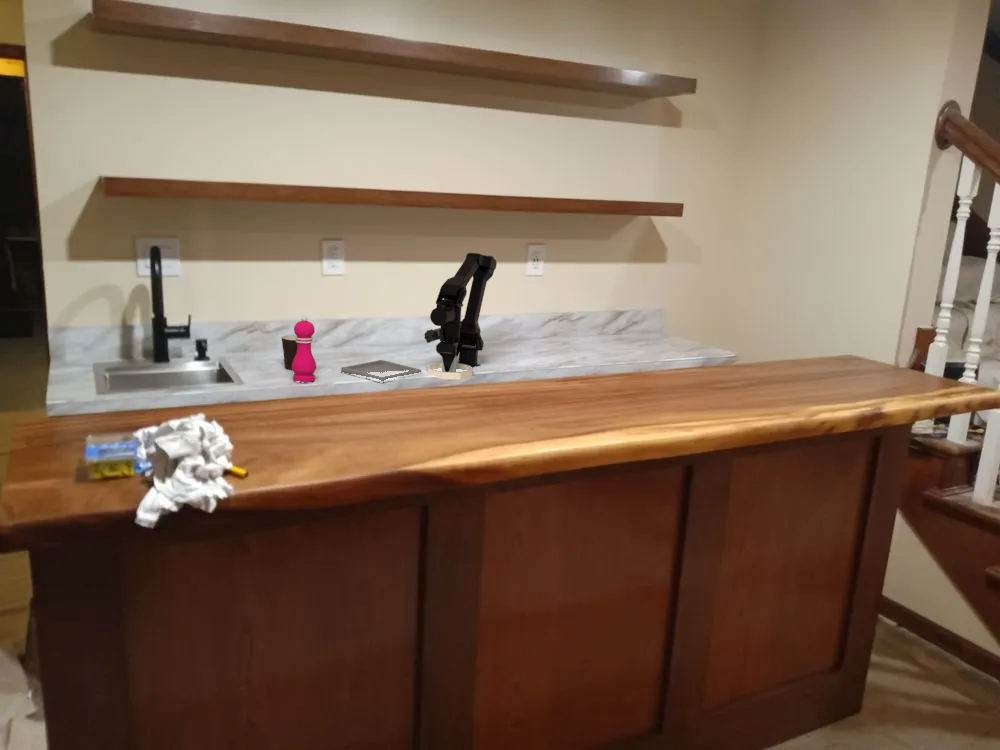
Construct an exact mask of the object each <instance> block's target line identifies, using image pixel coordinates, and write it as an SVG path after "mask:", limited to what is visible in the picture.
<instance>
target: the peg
mask: <svg viewBox="0 0 1000 750" xmlns="http://www.w3.org/2000/svg"><path fill="white" fill-rule="evenodd" d="M457 360H458V356H455V358H454V360H453V363H452V365H451V367H450V370H449V372H456V363H458V361H457ZM442 372H445V368H444V364H443V367H442Z"/></svg>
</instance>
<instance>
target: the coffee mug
mask: <svg viewBox="0 0 1000 750" xmlns="http://www.w3.org/2000/svg"><path fill="white" fill-rule="evenodd" d="M296 337H297V335H296V334H289V335H288V334H287V335H282V336H281V344H282V346H281V347H282V353H283V361H284V369H286V370H288V371H293V370H292V362H293V360H294V358H295V356H296V353H297V342H296Z"/></svg>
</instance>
